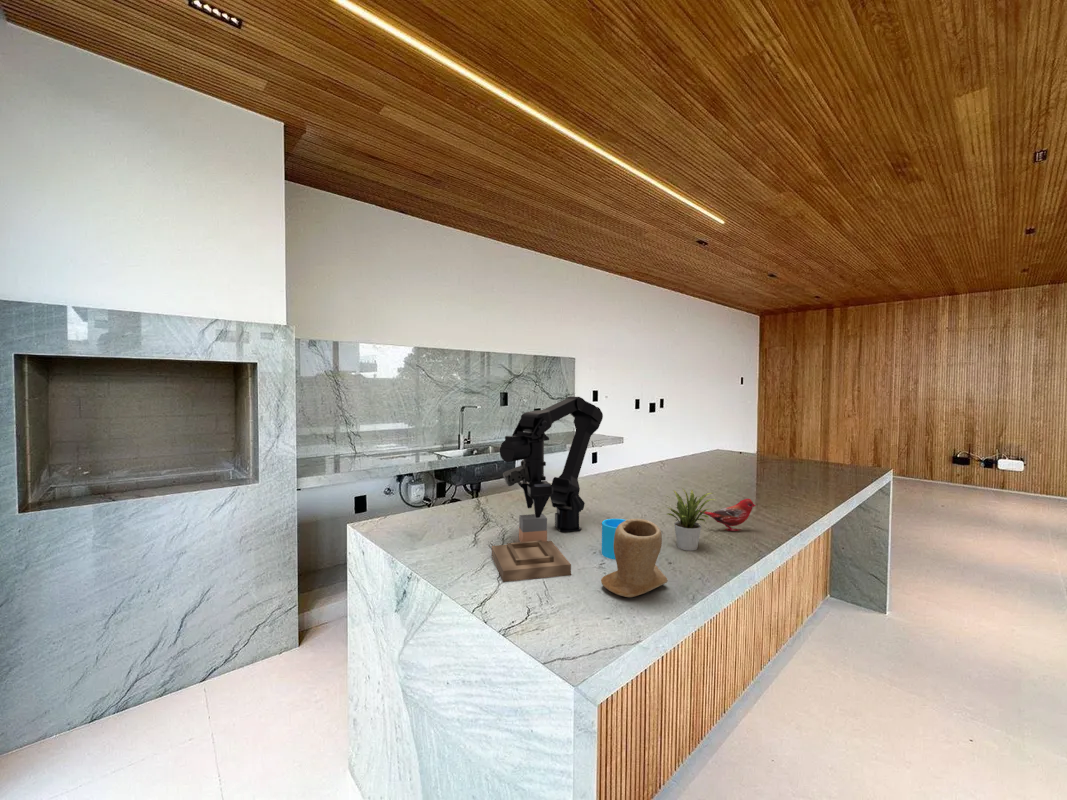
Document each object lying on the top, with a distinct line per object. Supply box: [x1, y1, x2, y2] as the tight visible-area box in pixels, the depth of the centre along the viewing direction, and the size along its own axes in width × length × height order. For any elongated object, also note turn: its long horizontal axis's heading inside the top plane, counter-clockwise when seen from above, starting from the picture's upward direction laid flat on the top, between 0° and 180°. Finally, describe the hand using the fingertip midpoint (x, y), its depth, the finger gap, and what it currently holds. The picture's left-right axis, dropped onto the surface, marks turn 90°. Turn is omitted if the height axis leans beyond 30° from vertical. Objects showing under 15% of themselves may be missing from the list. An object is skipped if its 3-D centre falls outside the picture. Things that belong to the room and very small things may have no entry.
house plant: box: [664, 487, 716, 552], centre depth 125 cm, size 14×14×16 cm
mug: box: [601, 518, 627, 561], centre depth 122 cm, size 12×8×8 cm
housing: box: [518, 513, 548, 542], centre depth 130 cm, size 7×4×7 cm, turn 104°
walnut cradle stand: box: [491, 540, 572, 583], centre depth 113 cm, size 16×16×4 cm
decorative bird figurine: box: [699, 498, 756, 532], centre depth 140 cm, size 3×18×10 cm, turn 89°
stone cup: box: [600, 518, 669, 598], centre depth 101 cm, size 15×12×15 cm
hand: (533, 512), depth 130 cm, fingers open, 9 cm apart
